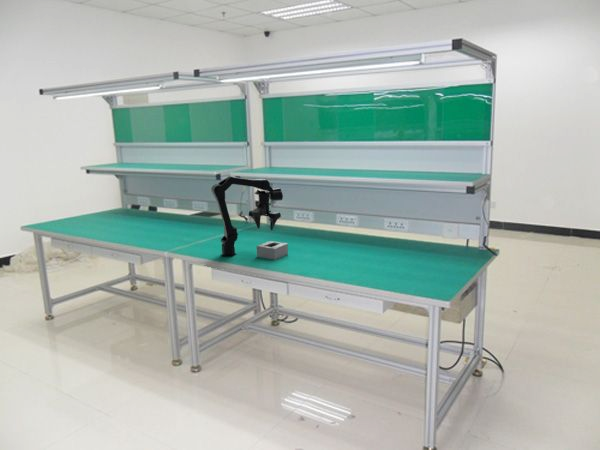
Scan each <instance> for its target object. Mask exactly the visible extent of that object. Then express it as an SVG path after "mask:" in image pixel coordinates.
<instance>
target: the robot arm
mask: <svg viewBox="0 0 600 450" xmlns="http://www.w3.org/2000/svg"><path fill="white" fill-rule="evenodd" d="M232 185H236V186H237V185H238V186H247V187H253V188H256V189H257V190H256V191H255V192H254V194H255V195H256V196H257V195H258V203H257V204H256V205H257V206H256V207H255V208H254V209H253V210H248V211H249V212H248V217H250V218H251V219H253V220H254V222H255V225H256V228H257V229H260V226H261V217H263V216H264V217H269V219H268V220H269V223H270V231H273V230H274V227H275V225H276V223H277V221H278V220H279V219H280V218H281V217H282V215H281V212H279V211H273V212H272V210H271V209H270V206H272V203H270V201H272V202H276V201H278V202H279V201H283V199H284V195H283V191H282V188H280V187H277V188H272V186H271V184H270V181H269V180H267V179H264V178H256V179H249V178H245V177H237V176H236V177H234V176H230V175H229V176H227V177H226V178H225V179H223V180H221V181H219V182H218V183H214V184H213V185H212V186H211V189H210V190H211V192H212V195H213V197H214V199H215V201H216V203H217V206H218V209H219V212H220V217H221V220H222V223H223V234H224V235H223V237H221V238H220V242H221V253H222V254H220V256H221V257H226V258H231V257H233V256H236V255H237V253H236V249H235V243H236V241H237V240H238V236H239V234H238V228H237V227H236V226H234V225H233V224H232V221H231V216H230V213H229V210H228V207H227V202H226V191H227V190H228V189H230V187H231V186H232Z"/></svg>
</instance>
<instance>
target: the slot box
mask: <svg viewBox="0 0 600 450" xmlns="http://www.w3.org/2000/svg"><path fill="white" fill-rule="evenodd" d="M288 255H289V243H286V242H279V241H273V240H270V241H266V242H263V243H260V244H258V245H256V256H257V258H261V259H262V258H263V259H268V260H272V261H273V260H274V261H276V260H278V259H281V258H282V257H283V258H284V257H285V256H288Z"/></svg>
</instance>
